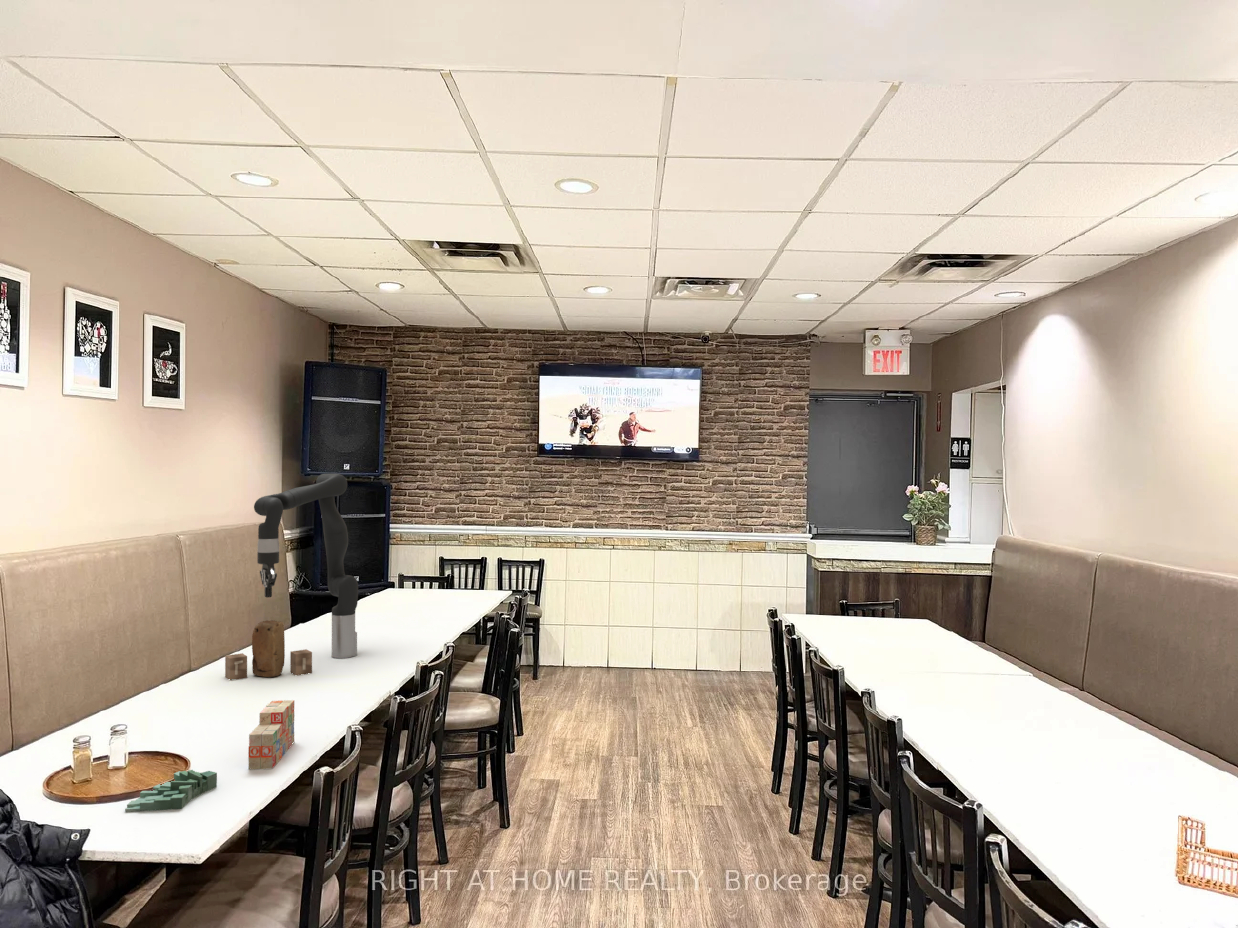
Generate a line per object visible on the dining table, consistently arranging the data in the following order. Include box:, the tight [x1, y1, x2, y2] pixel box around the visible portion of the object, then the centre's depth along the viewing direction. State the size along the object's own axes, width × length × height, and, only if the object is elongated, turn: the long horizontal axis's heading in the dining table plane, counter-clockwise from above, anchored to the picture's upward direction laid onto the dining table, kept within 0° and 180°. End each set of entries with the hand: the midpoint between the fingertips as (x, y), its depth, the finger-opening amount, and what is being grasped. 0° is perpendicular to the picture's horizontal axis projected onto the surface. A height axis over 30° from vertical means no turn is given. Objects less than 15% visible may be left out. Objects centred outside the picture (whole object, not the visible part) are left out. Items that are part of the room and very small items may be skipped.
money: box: [124, 769, 218, 813], centre depth 203 cm, size 20×16×5 cm
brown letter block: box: [224, 652, 248, 681], centre depth 312 cm, size 6×6×8 cm
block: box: [251, 619, 286, 678], centre depth 315 cm, size 11×8×20 cm
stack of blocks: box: [247, 699, 295, 770], centre depth 230 cm, size 21×6×12 cm, turn 7°
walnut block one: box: [289, 648, 313, 676], centre depth 319 cm, size 6×6×8 cm
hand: (268, 596), depth 315 cm, fingers closed
